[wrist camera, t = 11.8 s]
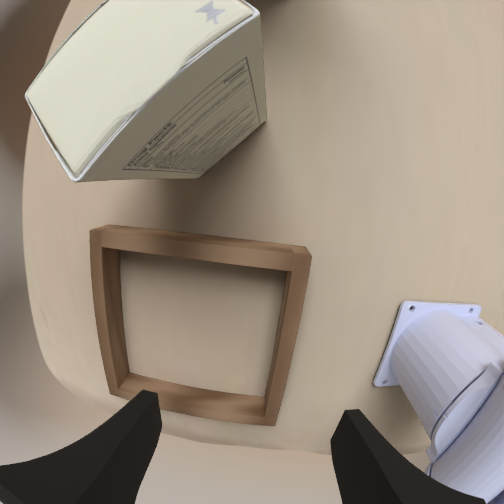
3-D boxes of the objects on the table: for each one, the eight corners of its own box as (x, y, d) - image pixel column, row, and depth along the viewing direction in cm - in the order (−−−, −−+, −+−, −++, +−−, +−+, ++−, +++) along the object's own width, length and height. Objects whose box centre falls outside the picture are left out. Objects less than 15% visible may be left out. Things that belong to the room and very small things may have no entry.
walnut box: (305, 246, 18) (311, 256, 16) (274, 405, 21) (275, 426, 19) (108, 224, 18) (89, 230, 16) (121, 377, 21) (110, 394, 19)
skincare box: (226, 76, 16) (173, -52, 4) (269, 120, 16) (276, 6, 4) (153, 138, 17) (16, 94, 5) (193, 184, 17) (70, 188, 5)
